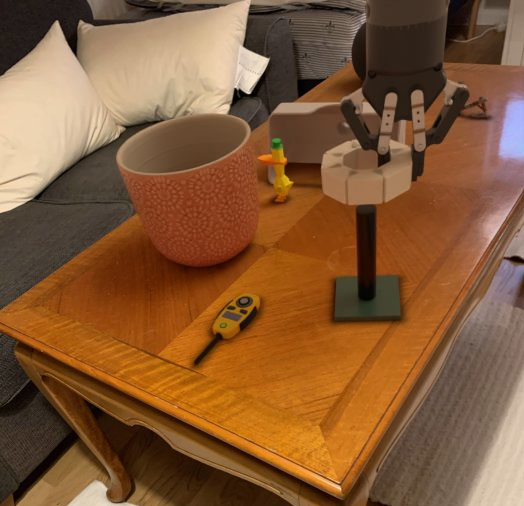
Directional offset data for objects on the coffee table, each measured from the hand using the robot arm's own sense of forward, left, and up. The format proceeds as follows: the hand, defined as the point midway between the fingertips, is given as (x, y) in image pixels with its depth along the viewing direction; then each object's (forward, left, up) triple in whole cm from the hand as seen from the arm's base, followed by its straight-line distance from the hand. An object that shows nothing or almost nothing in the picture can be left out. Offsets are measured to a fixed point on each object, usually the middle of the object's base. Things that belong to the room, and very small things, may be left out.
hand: (399, 178), depth 61 cm
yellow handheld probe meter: (+24, +6, -19) cm, 31 cm away
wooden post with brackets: (-18, -60, -19) cm, 66 cm away
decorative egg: (+1, -85, -19) cm, 87 cm away
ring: (+4, 0, 0) cm, 4 cm away
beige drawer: (+9, -41, -19) cm, 46 cm away
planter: (+31, -16, -19) cm, 40 cm away
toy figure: (+20, -30, -19) cm, 41 cm away
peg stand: (+4, 0, -19) cm, 19 cm away
